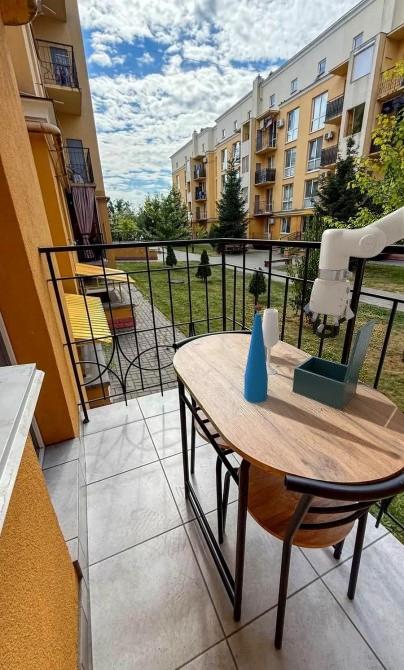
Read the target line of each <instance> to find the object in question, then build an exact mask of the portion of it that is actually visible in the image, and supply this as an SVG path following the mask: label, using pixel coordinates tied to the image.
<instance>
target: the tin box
mask: <svg viewBox="0 0 404 670" xmlns="http://www.w3.org/2000/svg"><path fill="white" fill-rule="evenodd" d="M347 368H348V364H344V363H339V362H336V361H333V360H332V361H331V360H328V359H325V358H321V357H318V356H316V355H315V356H314V355H311V356H309V357H307V359H305V360H304V361H302V362H301V363H299V364H298V365H297V366H295V367H294V368H293V381H292V391H291V392H293V393H295V394H298V395H300V396H302V397H305V398H308V399H310V400H312V401H315V402H318V403H320V404H323V405H325V406H328V407H330V408H333V409H335V410H338V411H342V409H343V408H344V407H346V405H348V403H349V402H350V400H352V398H353V397H354V396H355V395H356V394H357V389H358V384H359V383H358V382H359V379H360V378H359V377H360V372H361V370H360V371H359V372H358V373H357V374H356V375H355V376H354V377H353V378H352V379H351V380H350V381H349V382H348V383H347V384H346V383H344V379H345V375H346V372H347Z"/></svg>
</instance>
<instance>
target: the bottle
mask: <svg viewBox="0 0 404 670" xmlns="http://www.w3.org/2000/svg"><path fill="white" fill-rule="evenodd" d="M253 308H254V310H255V311H256V312H262V310H263V305H258V304H257V305H254V307H253ZM262 322H263V318H262V314H261V313H255V314H254V319H253V325H252V327H253V330H251V332H252V333H251V335H250V336H251V337H250V344H249V349H248V354H247V360H246V365H245V372H244V387H243V388H244V389H243V391H244V392H243V398H244V399H245V400H246V401H247V402H249V403H252V404H262V403H264V402H266V401H267V399H268V385H269V375H267V357H266V356H265V347H264V338H263V329H262Z"/></svg>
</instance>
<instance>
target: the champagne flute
mask: <svg viewBox="0 0 404 670" xmlns="http://www.w3.org/2000/svg"><path fill="white" fill-rule="evenodd" d="M262 322H263V323H262V329H263V338H264V345H265V346H266V347H267V348H268V349H267V357H266V365H267V375H268V376H272V375H275V374H277V373H278V371H277V368H274V367H273V366H271V352H272V348H273V347H275V346H276V345H277V344H279V341H280V330H279V325H278V324H279V310H278V309H276V308H265V309H264V310H263V316H262Z"/></svg>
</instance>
